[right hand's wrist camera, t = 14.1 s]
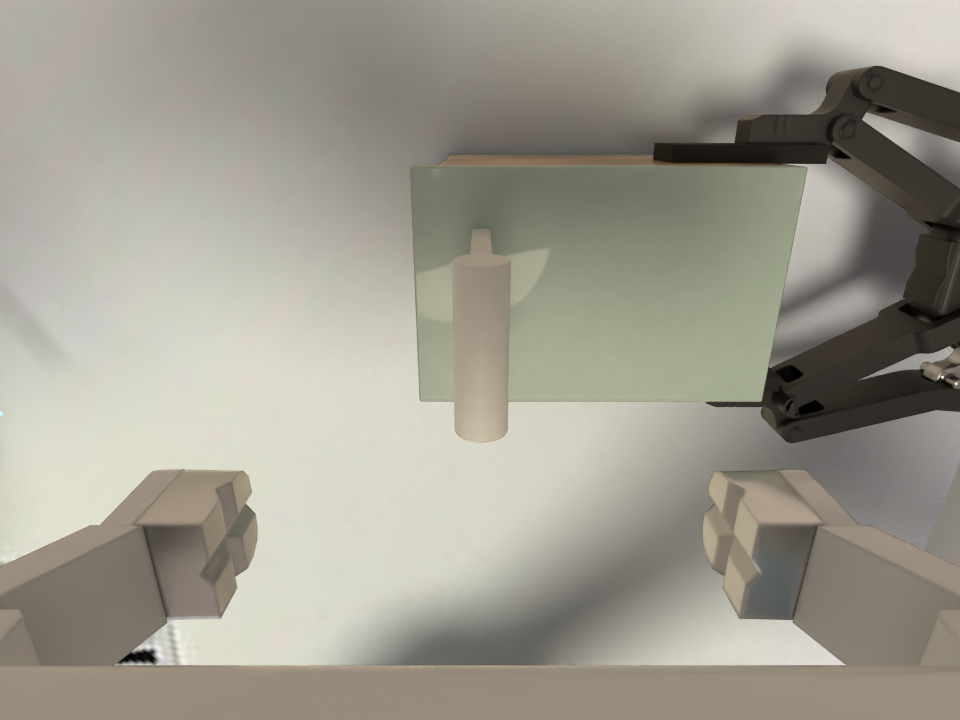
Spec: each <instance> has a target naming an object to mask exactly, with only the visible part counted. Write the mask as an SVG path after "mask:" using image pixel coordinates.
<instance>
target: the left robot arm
mask: <svg viewBox="0 0 960 720" xmlns="http://www.w3.org/2000/svg"><path fill="white" fill-rule="evenodd" d="M826 94H827V95H826V97H825V99H824V101H823V103H822V104H821V106H820V107H819V108H818V109H817V110H816V111H815V112H813V113H811V114H809V115H750V116H747V117H745V118H742V119H740V120H738V124H737V130H736V137H735V143H655V145H654V155H653V160H657V161H663V162H668V163H777V164H826V161H827V157H829V158H830V159H832V160H833V161H835V162H836V163H837V164H839V165H840V166H842V167H843V168H845V169H846V170H848V171H849V172H851V173H852V174H854V175H855V176H857V177H858V178H860V179H861V180H862V181H864V182H865V183H867V184H868V185H870V186H871V187H873V188H874V189H876V190H877V191H879V192H880V193H882V194H883V195H885V196H886V197H888V198H889V199H890V200H892V201H893V202H895V203H896V204H898V205H899V206H901V207H902V208H904V209H905V210H906V214H908V215H909V216H910V217H912V218H913V219H915V220H916V221H918V222H919V223H921V224H922V225H924V226H925V227H927V228H928V229H929V231H928V232H927V234H926V235H920V237H919V241H918V244H917V248H916V266H915V269H914V271H913V272H912V274H911V276H910V278H909V280H908V281H907V284H906V288H905V291H904V295H903V298H906V299H903V300H901V301H899V302H897V303H895V304H893V305H891V306H889V307H887V308H884V309H883V310H881V311H880V312H879V316H878V317H877V318H876V319H873V320H871V321H869V322H867V323H865V324H863V325H861V326H859V327H856V328H854V329H852V330H850V331H848V332H846V333H844V334H842V335H839V336H837V337H835V338H833V339H831V340H829V341H827V342H825V343H822V344H820V345H818V346H816V347H814V348H812V349H810V350H808V351H805V352H803V353H801V354H799V355H797V356H795V357H793V358H791V359H788V360H786V361H784V362H782V363H780V364H778V365H776V366H774V367H771V368H770V367H768V372H767V377H766V382H765V387H764V392H763V397H762V401H761V402H706V403H707V404H709V405H712V406H715V407H726V406H727V407H734V406H736V407H763V408H762V410H761V415H762V418H763V419H764V420H765V421H766V422H767V423H768V424H769V425H770V426H771V427H772V428H773V429H774V430H775V431H776V432H777V433H778V434H779V435H780V436H781V437H782V438H783V439H784V440H785V441H786V442H789V443H796V442H800V441H805V440H809V439H813V438H818V437H822V436H826V435H831V434H835V433H839V432H844V431H848V430H852V429H856V428H861V427H865V426H869V425H874V424H878V423H882V422H887V421H891V420H895V419H900V418H904V417H908V416H913V415H917V414H921V413H926V412H930V411H934V410H942V411H956V412H960V189H959V188H958V187H956V186H955V185H953V184H952V183H951V182H949V181H948V180H946V179H945V178H943V177H942V176H941V175H939V174H938V173H936V172H935V171H933V170H932V169H931V168H929V167H928V166H926V165H925V164H924V163H922V162H921V161H919V160H918V159H916V158H915V157H914V156H912V155H911V154H909V153H908V152H907V151H905V150H904V149H902V148H901V147H899V146H898V145H897V144H895V143H894V142H892V141H891V140H889V139H888V138H887V137H885V136H884V135H882V134H881V133H880V132H878V131H877V130H875V129H874V128H872V127H871V126H870V125H868V124H867V123H865V122H864V121H863V120H862V118H863V116H864V115H865V113H866V112H869V113H872V114H875V115H878V116H881V117H884V118H887V119H890V120H893V121H896V122H899V123H902V124H905V125H908V126H911V127H914V128H918V129H921V130H924V131H927V132H930V133H933V134H936V135H939V136H942V137H945V138H948V139H951V140H954V141H957V142H960V93H959V92H956V91H953V90H950V89H947V88H944V87H942V86H939V85H936V84H933V83H930V82H927V81H924V80H921V79H918V78H915V77H912V76H909V75H906V74H903V73H900V72H897V71H894V70H891V69H888V68H885V67H882V66H872V67H866V68H860V69H853V70H847V71H841V72H838V73H835V74H834V75H833V76H832V77H831V78H830V79H829V81H828V82H827V86H826ZM948 346H950V347H951V348H953V349H954V350H953V352H952V354H951V355H950V356H949V357H948V358H946V359H944V360H942V361H936V362H933V363H930V362H924V363H922V364H921V366H920V370H902V371H897V372H892V373H888V374H884V375H879V376H875V377H871V378H867V379H863V380H860V379H862V378H864V377H866V376H869V375H871V374H873V373H875V372H877V371H880V370H882V369H884V368H886V367H888V366H891V365H893V364H895V363H897V362H899V361H902V360H904V359H906V358H908V357H910V356H913V355H915V354H919V353H925V354H929V353H934V352H937V351H940V350H942V349H944V348H946V347H948ZM858 380H859V381H858Z"/></svg>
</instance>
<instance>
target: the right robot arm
mask: <svg viewBox="0 0 960 720" xmlns="http://www.w3.org/2000/svg"><path fill="white" fill-rule="evenodd" d="M2 414H3V413H2V412H1V411H0V416H1V415H2ZM251 493H252V490H251V485H250V481H249V476H248V475H247V474H246V473H245V472H244V471H227V470H184V469H175V470H156V471H152V472H151V473H150V474H149V475H148V476H147V477H146V478H145V479H144V480H143V481H142V482H141V483H140V484H139V485H138V486H137V487H136V488H135V489H134V491H133V492H132V493H131V494H130V495H129V496H128V497H127V498H126V499H125V500H124V501H123V502H122V503H121V504H120V505H119V506H118V507H117V508H116V509H115V510H114V511H113V512H112V513H111V514H110V515H109V516H108V517H107V518H106V519H105V520H104V521H103V522H102V523H101V525H91V526H88V527H86V528H83V529H81V530H79V531H77V532H75V533H73V534H70V535H68V536H66V537H64V538H62V539H59V540H57V541H55V542H53V543H51V544H49V545H46V546H44V547H42V548H40V549H38V550H36V551H33V552H31V553H29V554H27V555H25V556H22V557H20V558H18V559H16V560H14V561H12V562H9V563H7V564H5V565H3V566H1V567H0V720H960V567H959V566H957V565H955V564H953V563H950V562H948V561H946V560H944V559H942V558H940V557H937V556H935V555H933V554H931V553H929V552H926V551H924V550H922V549H920V548H918V547H916V546H913V545H911V544H909V543H907V542H905V541H903V540H900V539H898V538H896V537H894V536H892V535H890V534H887V533H885V532H883V531H881V530H879V529H877V528H874V527H872V526H869V525H860V524H859V523H858V522H857V521H856V520H855V519H854V518H853V517H852V516H851V515H850V514H849V513H848V512H847V511H846V510H845V509H844V508H843V507H842V506H841V505H840V504H839V503H838V502H837V501H836V500H835V499H834V498H833V497H832V496H831V495H830V493H829V492H828V491H827V490H826V489H825V488H824V487H823V486H822V485H821V484H820V483H819V482H818V481H817V480H816V479H815V478H814V477H813V476H812V475H811V474H810V473H809V472H807V471H805V470H802V469H791V470H767V471H727V472H714V473H713V476H712V478H711V480H710V484H709V490H708V493H709V495H710V496H711V498H712V500H713V501H714V503H715V504H714V505H713V506H712V507H711V508H710V509H709V510H708V511H707V512H706V513H705V514H704V520H703V528H702V533H703V545H704V549H705V552H706V556H707V558H708V560H709V562H710V564H711V566H712V568H713V569H714V570H716V571H717V572H719V573H720V574H722V575H723V576H724V577H725V578H724V584H723V589H724V591H725V593H726V595H727V597H728V598H729V600H730V602H731V604H732V606H733V608H734V610H735V611H736V613H737V615H738V617H739V619H775V620H793V623H794V624H795V625H797V626H798V627H799V628H800V629H802V630H803V631H804V632H805V633H807V634H808V635H809V636H810V637H812V638H813V639H814V640H815V641H816V642H818V643H819V644H820V645H821V646H823V647H824V648H825V649H826V650H828V651H829V652H830V653H831V654H833V655H834V656H835V657H836V658H838V659H839V660H840V661H841V662H843V663H844V664H845V665H555V666H267V665H115V664H116V663H117V662H119V661H120V660H121V659H122V658H124V657H125V656H126V655H127V654H129V653H130V652H131V651H132V650H134V649H135V648H136V647H137V646H139V645H140V644H141V643H142V642H144V641H145V640H146V639H147V638H149V637H150V636H151V635H152V634H154V633H155V632H156V631H157V630H159V629H160V628H161V627H162V626H164V625H165V624H166V623H167V620H184V619H219V618H221V617H222V615H223V613H224V612H225V610H226V608H227V606H228V604H229V602H230V600H231V599H232V597H233V595H234V593H235V591H236V589H237V584H236V578H235V577H236V576H237V575H238V574H240V573H241V572H243V571H244V570H246V569H247V568H248V566H249V564H250V562H251V560H252V558H253V556H254V552H255V548H256V543H257V519H256V514H255V513H254V512H253V511H252V510H251V509H250V508H249V507H248V506H247V505H246V504H245V503H246V501H247V500H248V498H249V496H250V495H251Z"/></svg>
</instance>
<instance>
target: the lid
mask: <svg viewBox="0 0 960 720" xmlns="http://www.w3.org/2000/svg"><path fill="white" fill-rule="evenodd" d="M806 174H807V167H803V166H794V165H414V166H412V167H411V168H410V180H411V204H412V228H413V252H414V276H415V300H416V324H417V348H418V372H419V396H420V401H435V402H455V431H456V433H457V435H458V436H459V437H461V438H462V439H465V440H467V441H471V442H491V441H495V440H498V439H500V438H502V437H503V436H504V435H505V434H506V433H507V430H508V402H761V401H762V397H763V392H764V387H765V382H766V377H767V372H768V366H769V361H770V356H771V351H772V346H773V341H774V336H775V331H776V326H777V321H778V316H779V311H780V306H781V301H782V295H783V290H784V285H785V280H786V275H787V270H788V265H789V260H790V255H791V250H792V245H793V240H794V235H795V229H796V224H797V219H798V214H799V209H800V204H801V199H802V194H803V189H804V184H805V179H806Z"/></svg>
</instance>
